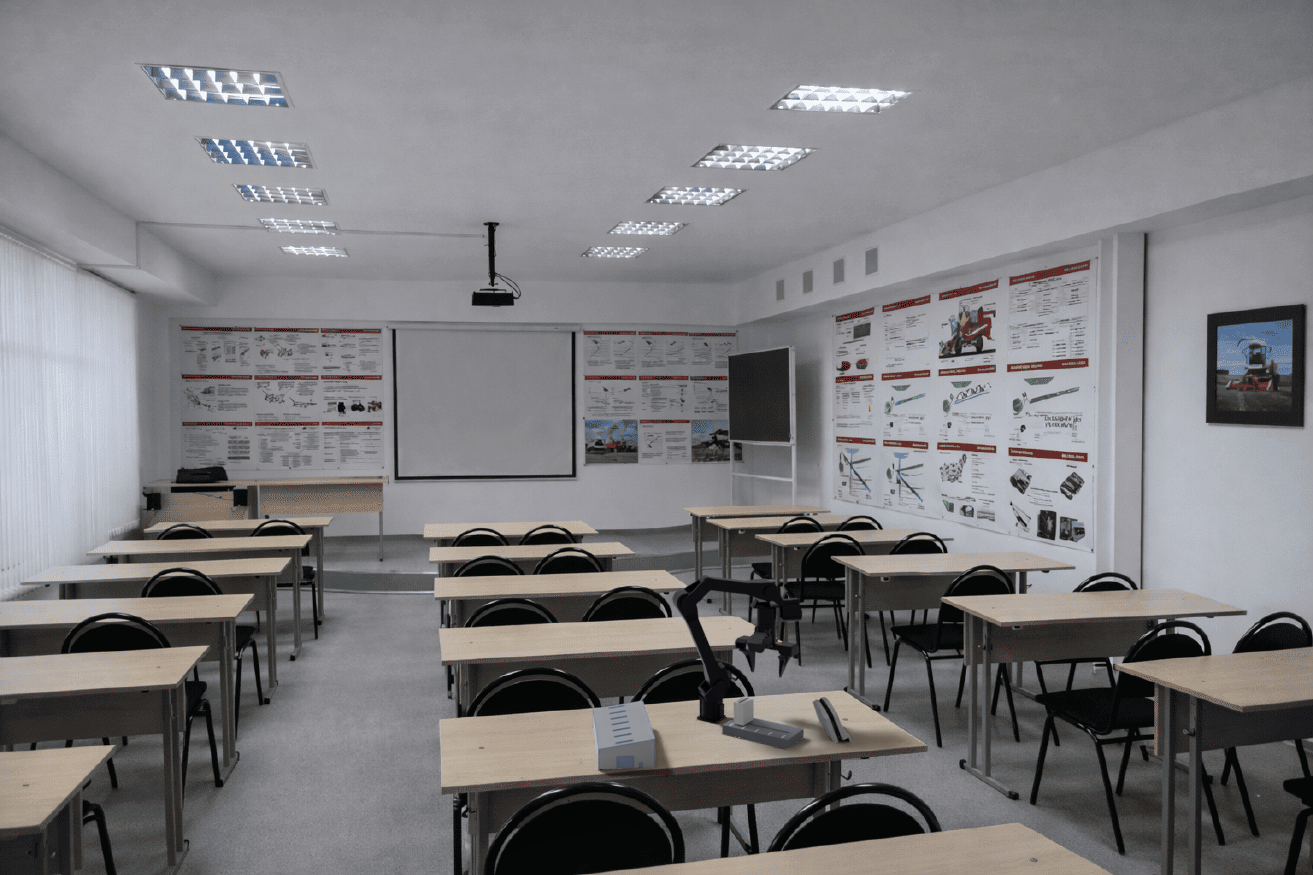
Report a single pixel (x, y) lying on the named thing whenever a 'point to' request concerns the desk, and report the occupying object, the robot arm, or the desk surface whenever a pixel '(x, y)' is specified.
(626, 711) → the warehouse
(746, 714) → the fader knob
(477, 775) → the desk surface
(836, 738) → the grey curved piece
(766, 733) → the fader board
